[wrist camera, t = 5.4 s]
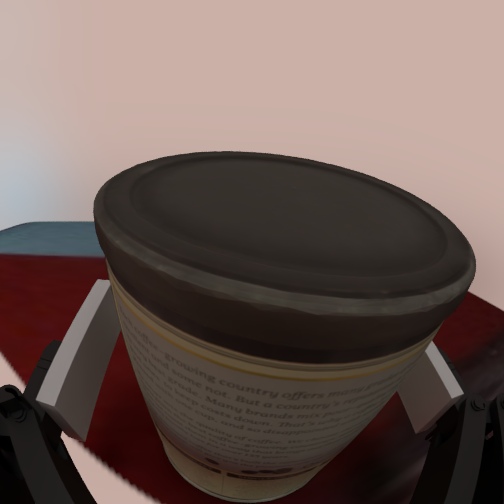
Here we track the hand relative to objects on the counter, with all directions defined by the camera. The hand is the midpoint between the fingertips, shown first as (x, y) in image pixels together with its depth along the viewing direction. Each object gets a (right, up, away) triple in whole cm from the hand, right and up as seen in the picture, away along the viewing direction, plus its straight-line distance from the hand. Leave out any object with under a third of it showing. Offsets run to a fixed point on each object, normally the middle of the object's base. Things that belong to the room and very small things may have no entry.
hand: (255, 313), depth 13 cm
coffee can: (0, -8, +2) cm, 8 cm away
